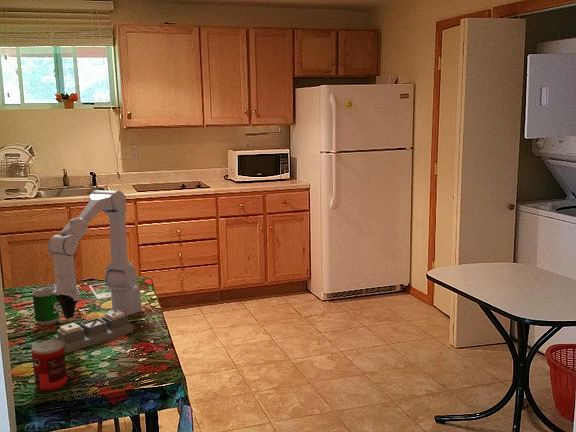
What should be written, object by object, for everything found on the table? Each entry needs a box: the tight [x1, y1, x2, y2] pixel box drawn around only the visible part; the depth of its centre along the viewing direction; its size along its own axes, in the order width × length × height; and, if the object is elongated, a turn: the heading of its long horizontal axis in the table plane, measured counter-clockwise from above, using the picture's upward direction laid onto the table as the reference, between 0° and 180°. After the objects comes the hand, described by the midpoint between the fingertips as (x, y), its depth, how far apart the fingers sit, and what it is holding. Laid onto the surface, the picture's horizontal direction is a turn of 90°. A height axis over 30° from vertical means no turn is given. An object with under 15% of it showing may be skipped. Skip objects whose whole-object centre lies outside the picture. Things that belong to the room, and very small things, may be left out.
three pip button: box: [85, 321, 102, 327], centre depth 185 cm, size 4×4×2 cm
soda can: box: [32, 284, 60, 326], centre depth 197 cm, size 8×8×12 cm
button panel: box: [53, 315, 134, 353], centre depth 185 cm, size 21×11×5 cm, turn 135°
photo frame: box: [88, 282, 112, 301], centre depth 230 cm, size 15×1×18 cm
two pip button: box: [104, 310, 125, 320], centre depth 190 cm, size 4×4×2 cm
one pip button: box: [59, 322, 81, 334], centre depth 179 cm, size 4×4×2 cm
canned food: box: [31, 339, 68, 392], centre depth 154 cm, size 8×8×11 cm
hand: (69, 317), depth 179 cm, fingers closed
